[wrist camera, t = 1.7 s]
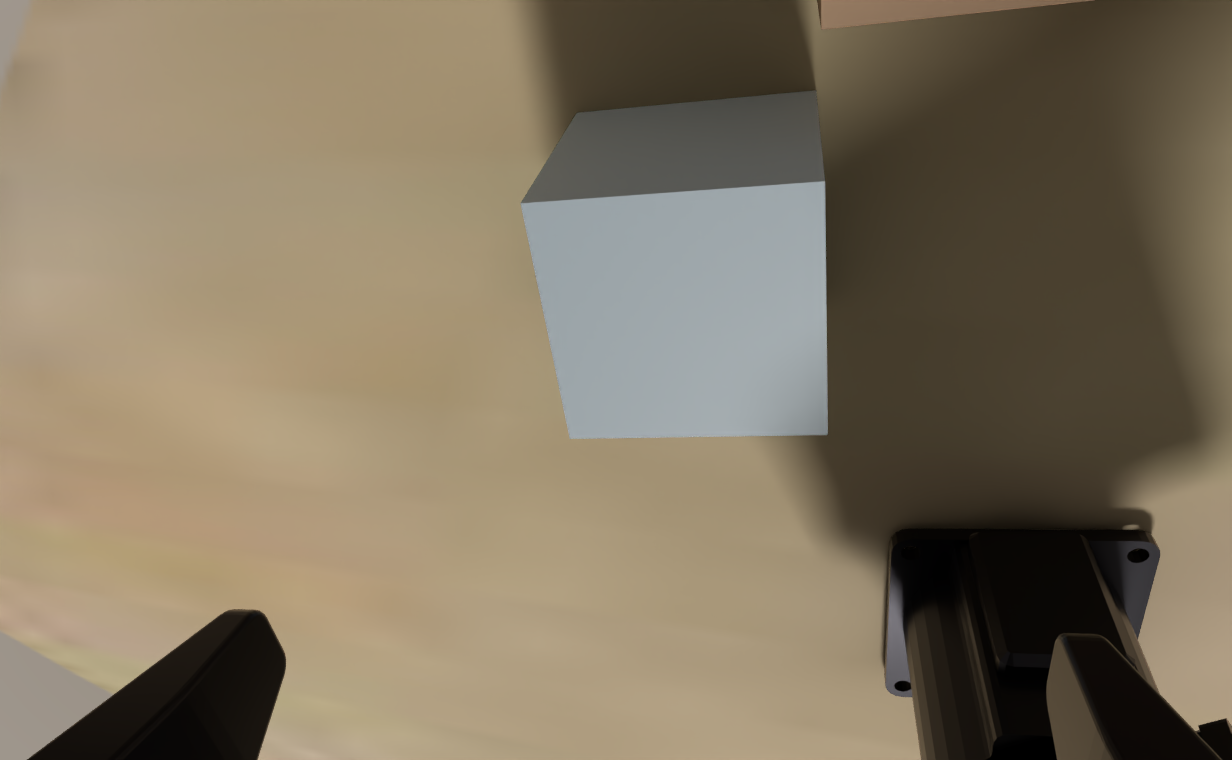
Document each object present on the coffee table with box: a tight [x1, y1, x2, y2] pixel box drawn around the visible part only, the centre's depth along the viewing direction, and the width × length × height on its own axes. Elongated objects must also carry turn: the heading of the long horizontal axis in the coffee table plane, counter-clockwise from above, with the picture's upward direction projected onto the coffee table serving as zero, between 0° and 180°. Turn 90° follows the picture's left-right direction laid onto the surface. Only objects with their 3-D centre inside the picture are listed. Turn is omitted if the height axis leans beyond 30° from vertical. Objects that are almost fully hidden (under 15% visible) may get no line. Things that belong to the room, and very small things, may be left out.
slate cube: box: [521, 90, 828, 439], centre depth 18 cm, size 5×5×5 cm
